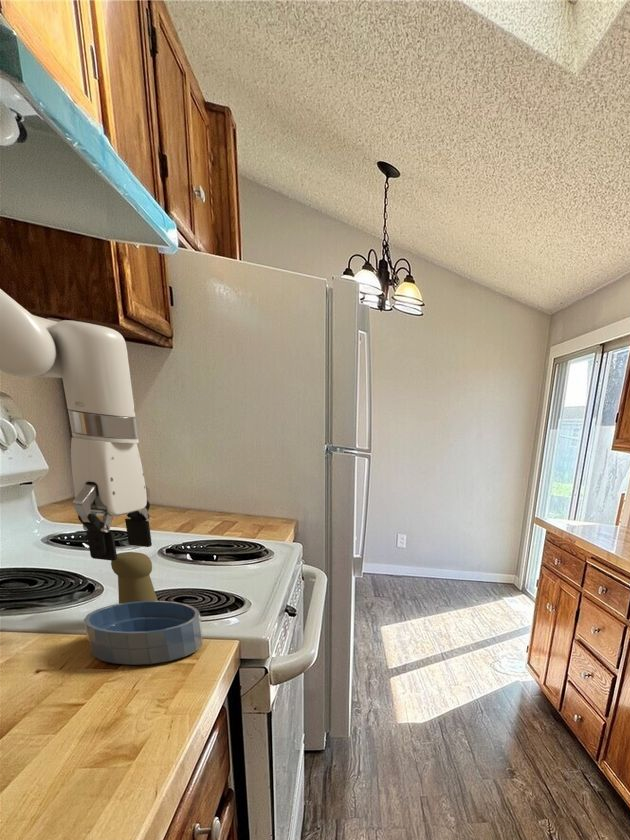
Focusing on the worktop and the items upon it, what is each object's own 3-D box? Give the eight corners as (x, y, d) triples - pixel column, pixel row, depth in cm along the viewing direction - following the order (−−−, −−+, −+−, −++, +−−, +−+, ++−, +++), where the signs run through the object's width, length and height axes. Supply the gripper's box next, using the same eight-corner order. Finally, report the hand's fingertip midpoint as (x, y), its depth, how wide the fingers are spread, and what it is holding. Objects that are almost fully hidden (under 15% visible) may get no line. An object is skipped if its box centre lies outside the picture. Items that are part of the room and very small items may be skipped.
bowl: (69, 664, 73) (60, 628, 71) (125, 628, 85) (119, 597, 83) (178, 671, 75) (172, 636, 73) (218, 635, 87) (214, 604, 85)
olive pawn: (123, 630, 84) (109, 559, 80) (116, 618, 88) (102, 549, 84) (168, 625, 88) (157, 557, 84) (159, 613, 92) (148, 547, 87)
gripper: (111, 424, 83) (127, 538, 90) (30, 423, 68) (58, 562, 75) (164, 431, 84) (176, 544, 91) (97, 433, 69) (118, 568, 76)
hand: (123, 552), depth 83 cm, fingers open, 9 cm apart
